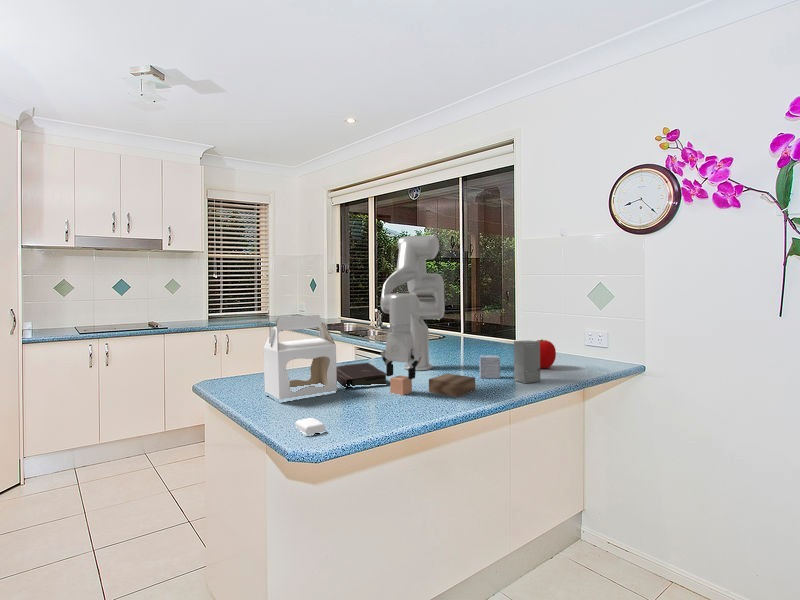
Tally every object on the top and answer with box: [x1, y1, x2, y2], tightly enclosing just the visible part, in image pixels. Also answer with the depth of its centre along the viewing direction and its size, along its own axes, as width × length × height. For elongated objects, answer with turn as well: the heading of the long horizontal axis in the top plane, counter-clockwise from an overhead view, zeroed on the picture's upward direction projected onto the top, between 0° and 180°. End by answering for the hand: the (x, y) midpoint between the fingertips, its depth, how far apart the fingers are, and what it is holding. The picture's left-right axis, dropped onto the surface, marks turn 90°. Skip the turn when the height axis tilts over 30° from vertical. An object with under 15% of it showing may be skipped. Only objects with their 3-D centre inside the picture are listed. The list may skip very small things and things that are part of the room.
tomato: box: [536, 338, 557, 369], centre depth 212 cm, size 11×11×13 cm
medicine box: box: [479, 355, 501, 379], centre depth 195 cm, size 8×4×9 cm, turn 84°
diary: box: [336, 362, 390, 388], centre depth 192 cm, size 19×25×5 cm
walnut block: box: [428, 373, 476, 398], centre depth 173 cm, size 12×12×5 cm
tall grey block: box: [513, 340, 541, 384], centre depth 188 cm, size 8×7×16 cm
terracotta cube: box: [389, 375, 413, 396], centre depth 172 cm, size 6×6×6 cm
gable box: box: [263, 314, 338, 399], centre depth 171 cm, size 22×13×28 cm, turn 126°
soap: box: [294, 417, 327, 435], centre depth 132 cm, size 9×7×3 cm
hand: (400, 377), depth 171 cm, fingers open, 9 cm apart
